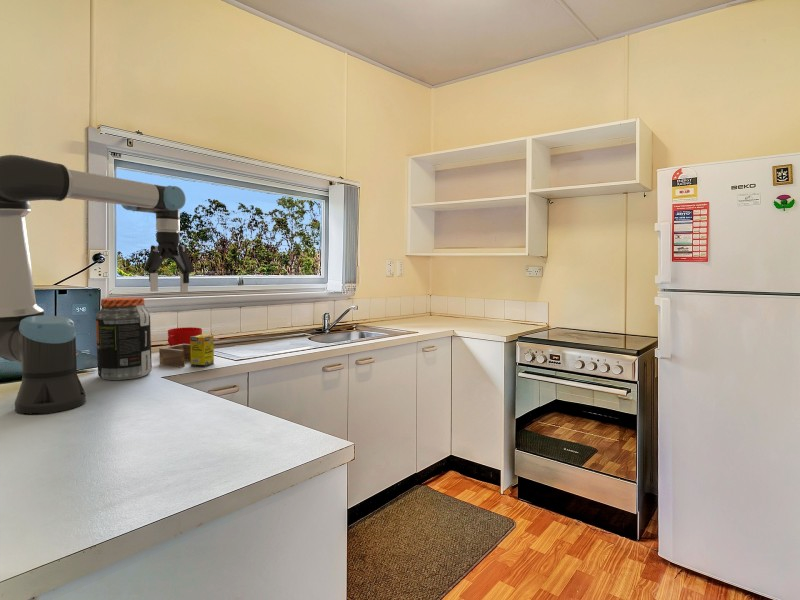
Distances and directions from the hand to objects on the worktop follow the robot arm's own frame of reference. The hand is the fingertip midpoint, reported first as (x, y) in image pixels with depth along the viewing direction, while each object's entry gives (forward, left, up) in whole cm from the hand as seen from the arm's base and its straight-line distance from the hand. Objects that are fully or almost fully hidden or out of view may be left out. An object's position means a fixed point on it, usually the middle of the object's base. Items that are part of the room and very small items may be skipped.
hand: (169, 292), depth 172 cm
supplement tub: (-15, +4, -28) cm, 32 cm away
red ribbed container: (+21, +15, -28) cm, 38 cm away
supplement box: (+8, -7, -28) cm, 29 cm away
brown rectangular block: (+8, +3, -27) cm, 29 cm away
